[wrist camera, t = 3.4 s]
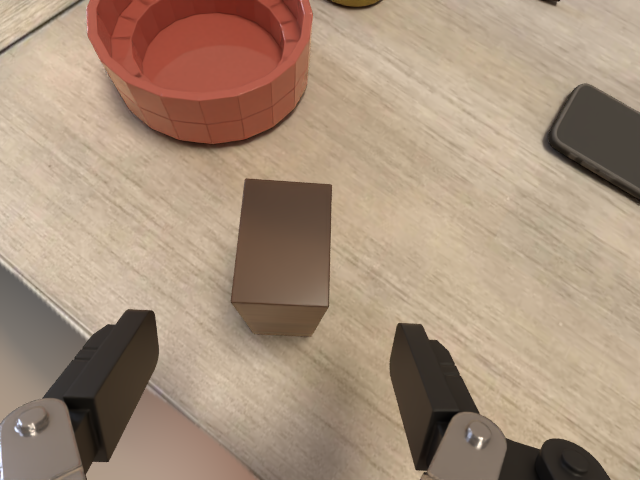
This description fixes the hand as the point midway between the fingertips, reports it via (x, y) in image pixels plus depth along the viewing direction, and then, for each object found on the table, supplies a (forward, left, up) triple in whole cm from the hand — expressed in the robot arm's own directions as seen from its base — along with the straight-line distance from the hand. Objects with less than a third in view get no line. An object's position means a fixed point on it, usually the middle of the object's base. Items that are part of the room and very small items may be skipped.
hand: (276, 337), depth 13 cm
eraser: (+2, +3, -10) cm, 11 cm away
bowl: (+6, +21, -10) cm, 24 cm away
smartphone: (+31, -2, -10) cm, 33 cm away
